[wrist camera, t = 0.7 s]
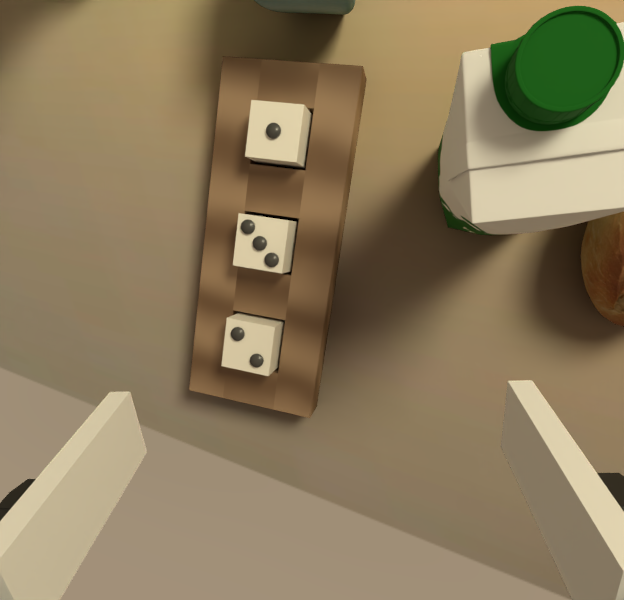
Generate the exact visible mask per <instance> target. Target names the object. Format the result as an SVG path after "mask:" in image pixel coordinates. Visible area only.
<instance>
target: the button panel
mask: <svg viewBox="0 0 624 600" xmlns="http://www.w3.org/2000/svg"><path fill="white" fill-rule="evenodd" d="M365 86H366V76H365V72H364V69H363V66H354V65H339V64H325V63H311V62H296V61H282V60H268V59H253V58H239V57H225V56H223V61H222V71H221V80H220V90H219V100H218V110H217V120H216V130H215V140H214V149H213V159H212V169H211V179H210V189H209V199H208V209H207V219H206V228H205V238H204V248H203V258H202V268H201V278H200V288H199V297H198V307H197V317H196V327H195V337H194V347H193V357H192V366H191V376H190V386H189V390H191V391H196V392H200V393H204V394H208V395H213V396H217V397H221V398H226V399H230V400H234V401H239V402H243V403H247V404H252V405H256V406H260V407H264V408H269V409H273V410H277V411H282V412H286V413H290V414H295V415H299V416H303V417H308V418H310V417H311V415H312V413H313V412H314V410H315V408H316V406H317V401H318V394H319V388H320V381H321V375H322V368H323V361H324V355H325V348H326V342H327V335H328V329H329V322H330V316H331V309H332V302H333V296H334V289H335V283H336V276H337V270H338V263H339V256H340V250H341V243H342V237H343V230H344V224H345V217H346V210H347V204H348V197H349V191H350V184H351V178H352V171H353V164H354V158H355V151H356V145H357V138H358V132H359V125H360V119H361V112H362V105H363V99H364V92H365ZM251 100H259V101H270V102H281V103H292V104H303V105H305V106H306V107H307V109H308V110H309V111H310V113H311V114H312V115H313V119H312V126H311V134H310V141H309V149H308V156H307V163H306V171H305V170H297V169H288V168H280V167H272V166H263V165H262V164H259V163H257V162H255V161H253V160H251V159H249V158H247V157H245V152H246V143H247V134H248V125H249V117H250V108H251ZM239 213H241V214H248V215H255V216H256V213H262V214H269V215H276V216H283V217H290V218H297V219H299V222H298V230H297V237H296V245H295V252H294V259H293V267H292V272H286V273H282V274H281V273H276V272H270V271H264V270H258V269H252V268H246V267H240V266H234V265H233V259H234V250H235V241H236V232H237V223H238V214H239ZM239 312H245V313H250V314H256V315H261V316H266V317H271V318H277V319H282V320H285V326H284V333H283V341H282V348H281V355H280V363H279V367H278V368H277V369H276V370H275V371H273V372H272V373H271V374H270V375H269V376H265V375H260V374H256V373H251V372H247V371H242V370H237V369H233V368H228V367H224V366H221V365H222V356H223V347H224V338H225V330H226V321H227V317H230V316H232V315H235V314H237V313H239Z"/></svg>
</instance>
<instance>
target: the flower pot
mask: <svg viewBox="0 0 624 600" xmlns="http://www.w3.org/2000/svg"><path fill="white" fill-rule="evenodd" d="M254 1H255V2H257V3H258V4H259V5H261V6H262V7H264V8H266V9H269V10H272V11H276V12H285V13H318V14H348V13H349V12H351V11H352V9H353V7H354V4H355V0H254Z"/></svg>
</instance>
